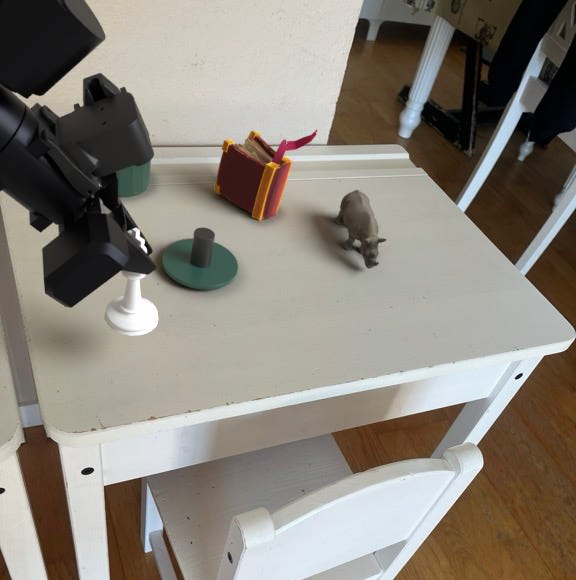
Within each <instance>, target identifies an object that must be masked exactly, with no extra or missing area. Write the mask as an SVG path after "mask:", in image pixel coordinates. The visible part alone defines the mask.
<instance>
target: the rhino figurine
mask: <svg viewBox="0 0 576 580" xmlns="http://www.w3.org/2000/svg"><path fill="white" fill-rule="evenodd" d="M340 202H341V203H340V205H339V211H338V214H337V216H336V217H335V218H334V222H335V223H336V224H337V225H344V226H345V228H347V233H348V239H347V240H346V241H344V243H342V247H343V248H344V249H345V250H346V251H351V250H353V244H354V243H355V242H356V241H358V242H359V243H360V246H359V247H358V251H359V253H360V254H361V256H362V258H363V262H364V265H365V267H366V269H372V268H374V267H378V266H379V264H380V261H377V258H378V255H379V244H380V243H385V242H386V241H387V240H388V239H387V238H381V237H379V235H378V234H379V230H380V229H379V223H378V221H377V219H376V217H375V214H374V210H373V208H372V206H371V204H370V198H369V197H368V195H366V193H364V192H362V191H360V190H359V189H354V190H353V191H350V192H348V193H346V194H345V195H344V196H343V197H342V199H341V201H340Z"/></svg>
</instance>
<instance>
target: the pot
mask: <svg viewBox="0 0 576 580" xmlns="http://www.w3.org/2000/svg"><path fill="white" fill-rule="evenodd" d="M151 167H152V159H151V160H150V161H149V162H148V163H146V164H144V165H141V166H138V167H137V166H131V167H128V168H125V169H122V170H120V171H117V176H118V197H119V198H132V197H135V196H136V197H137V196H139V195H142V194H143V193H144V192H146V191H147V190H148V188H149V187H150V180H151Z"/></svg>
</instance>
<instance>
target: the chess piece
mask: <svg viewBox="0 0 576 580" xmlns="http://www.w3.org/2000/svg"><path fill="white" fill-rule="evenodd" d="M138 228H139V227H138ZM138 228H134V229H132V231H131V230H129V231H127V232H128V233H129V234H130V235H131V236H132V237H133V239H134V240H135V241H136V242H137V243H138V244H139V245H140V247H141V248H142V249H143V250H144V251H145V252H146V253H147V248H146V247H145V246H144V244H145V240H144V239H143V238H141V237H140V231H141V229H140V228H139V229H140V230H139V229H138ZM120 272H121V274H122V276H123V277H124V278H126V279H127V280H126V285H125V286H126V287H125V291H124V295H121V296H118V297H115V298H114V299H112V300H111V301H109V302H108V304H107V306H106V307H105V311H104V321H105V323H106V325H107V326H108V327H109V328H110V329H111V330H112V331H115V332H116V333H118V334H120V335H124V336H129V337H131V336H132V337H136V336H137V337H138V336H143V335H147V334H149V333H150V332H152V331H153V330H155V328H156V327H157V325H158V323H159V313H158V309H157V307H156V306H155V304H154V303H153V302H152V301H150V300H148V299H147V298H145V297H143V296H142V294H141V293H142V292H141V284H140V283H141V282H140V280H141V279H144V278H145V277H146V276H147V275H145V274H139V273H133V272H127V271H120Z"/></svg>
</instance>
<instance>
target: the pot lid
mask: <svg viewBox="0 0 576 580" xmlns="http://www.w3.org/2000/svg"><path fill="white" fill-rule="evenodd" d="M215 237H216V233H215V232H214V231H213V230H212V229H210V228H208V227H197V228H195V229H194V231H193V236H192V238H182V239H179V240H176V241H174V242H172V243H169V244H168V246H167V247H165V249H164V250H163V252H162V256H161V264H162V268H163V270H164V272H165V273H166V274H167V276H168V277H170V278H171V279H172V280H174V281H175V282H176V283H178V284H180V285H182V286H185V287H188V288H190V289H196V290H204V291H205V290H216V289H221V288H223V287H226V286H228V285H229V284H231V283H232V282H233V281H234V280H235V279H236V277H237V275H238V271H239V263H238V260H237V258H236V256H235V255H234V254H233V252H231V251H230V250H229V248H227V247H225V246H224V245H221V244H220V243H217V242H216V241H215Z"/></svg>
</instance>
